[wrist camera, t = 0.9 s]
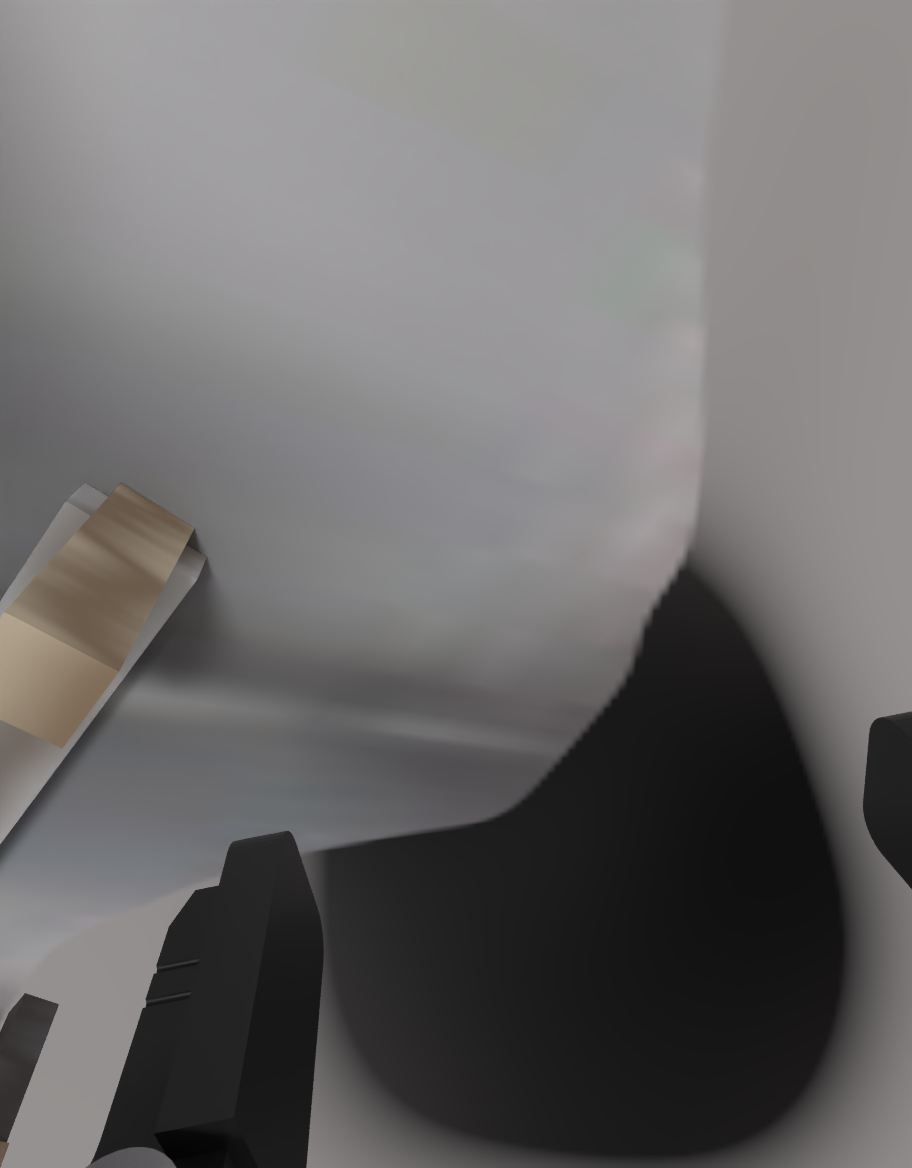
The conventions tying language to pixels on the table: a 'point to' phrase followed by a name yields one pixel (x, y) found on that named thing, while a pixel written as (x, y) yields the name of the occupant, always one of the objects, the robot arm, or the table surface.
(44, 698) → the plank with tan block
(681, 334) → the table surface
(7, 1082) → the walnut cabinet
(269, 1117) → the robot arm
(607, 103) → the table surface
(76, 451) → the table surface
